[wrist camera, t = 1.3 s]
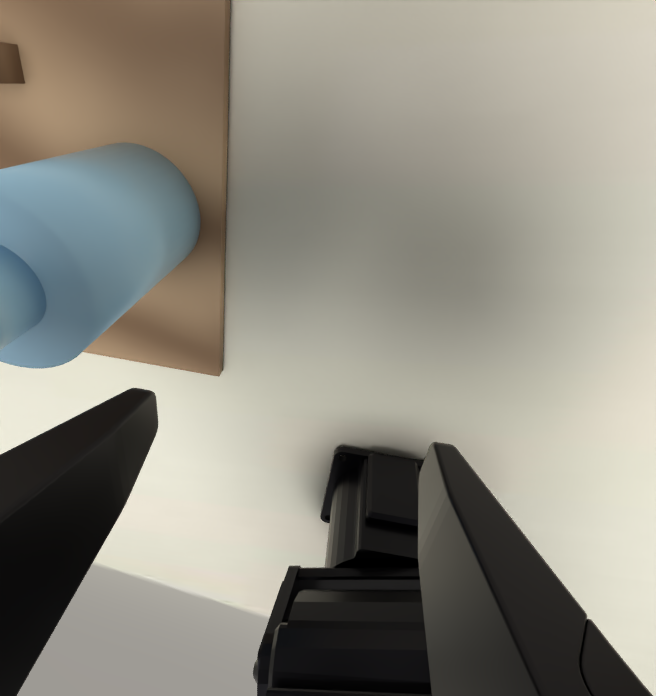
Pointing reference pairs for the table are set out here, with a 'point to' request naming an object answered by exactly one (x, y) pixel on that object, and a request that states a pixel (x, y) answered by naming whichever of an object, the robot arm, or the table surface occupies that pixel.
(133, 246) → the bottle
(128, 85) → the rest
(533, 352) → the table surface
